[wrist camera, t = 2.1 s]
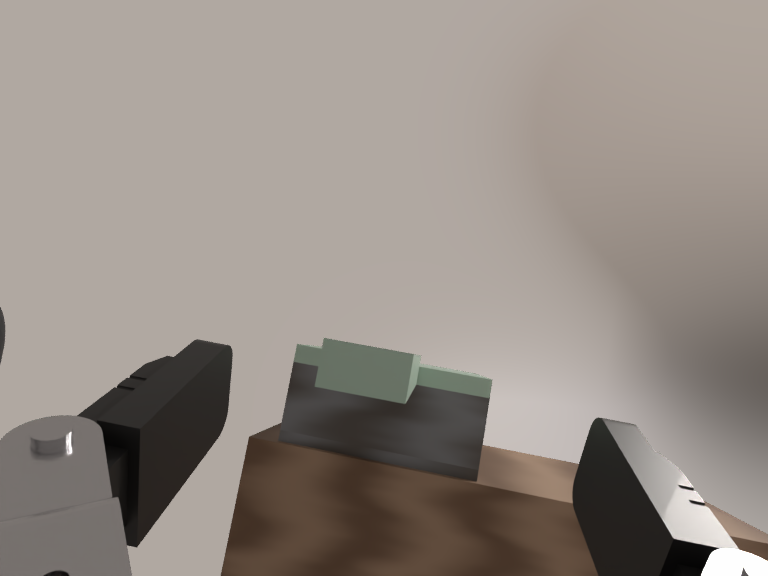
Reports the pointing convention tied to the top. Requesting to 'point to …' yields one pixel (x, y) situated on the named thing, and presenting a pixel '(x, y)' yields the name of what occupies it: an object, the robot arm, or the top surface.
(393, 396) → the green t-shaped block
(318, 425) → the cabinet
